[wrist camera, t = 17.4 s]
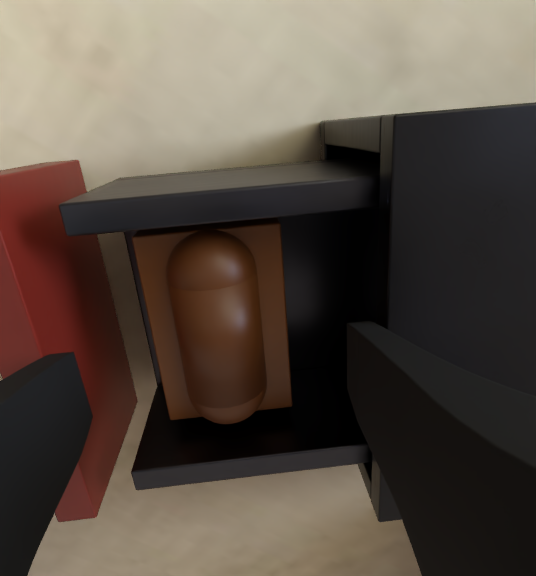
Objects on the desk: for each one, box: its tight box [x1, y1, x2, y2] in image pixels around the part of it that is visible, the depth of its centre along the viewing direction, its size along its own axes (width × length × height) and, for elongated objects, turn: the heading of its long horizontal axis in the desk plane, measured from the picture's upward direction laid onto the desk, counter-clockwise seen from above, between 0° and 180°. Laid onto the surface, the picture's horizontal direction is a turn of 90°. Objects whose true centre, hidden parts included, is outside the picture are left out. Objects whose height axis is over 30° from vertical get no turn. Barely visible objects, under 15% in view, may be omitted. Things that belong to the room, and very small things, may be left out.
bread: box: [132, 217, 293, 424], centre depth 13 cm, size 6×4×4 cm, turn 4°
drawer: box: [0, 155, 381, 522], centre depth 13 cm, size 17×10×6 cm, turn 94°
